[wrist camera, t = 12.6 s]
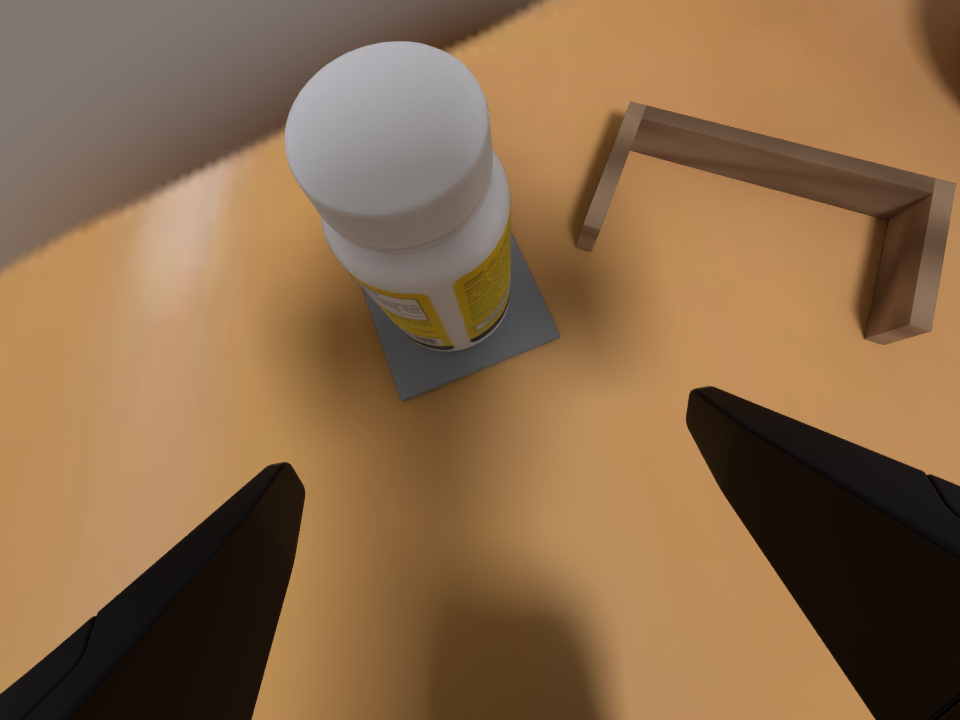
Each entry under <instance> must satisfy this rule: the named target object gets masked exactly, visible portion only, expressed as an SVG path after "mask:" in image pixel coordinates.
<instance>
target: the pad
mask: <svg viewBox="0 0 960 720" xmlns="http://www.w3.org/2000/svg"><path fill="white" fill-rule="evenodd" d="M362 290H363V293H364V295H365V298H366V301H367V304H368V307H369V310H370V313H371V316H372V318H373V321H374V324H375V327H376V330H377V333H378V336H379V339H380V341H381V344H382V347H383V350H384V353H385V356H386V359H387V362H388V364H389V367H390V370H391V373H392V376H393V379H394V382H395V385H396V387H397V390H398V393H399V396H400V399H401V400H402V401H406V400H408V399H411V398H413V397H415V396H418V395H420V394H423V393H425V392H428V391H430V390H433V389H435V388H438V387H440V386H442V385H445V384H447V383H450V382H452V381H455V380H457V379H460V378H462V377H465V376H467V375H469V374H472V373H474V372H477V371H479V370H482V369H484V368H487V367H489V366H492V365H494V364H497V363H499V362H501V361H504V360H506V359H509V358H511V357H514V356H516V355H519V354H521V353H524V352H526V351H528V350H531V349H533V348H536V347H538V346H541V345H543V344H546V343H548V342H551V341H553V340H555V339H558V338H559V337H560V333H559V331H558V329H557V327H556V325H555V323H554V321H553V319H552V316H551V314H550V312H549V310H548V308H547V306H546V304H545V302H544V300H543V298H542V296H541V293H540V291H539V289H538V287H537V285H536V283H535V281H534V279H533V277H532V275H531V273H530V270H529V268H528V266H527V264H526V262H525V260H524V258H523V256H522V254H521V252H520V250H519V247H518V245H517V243H516V241H515V239H514V237H513V235H512V233H511V291H510V301H509V306H508V309H507V312H506V314H505V317H504V318H503V320H502V322H501V323H500V325H499V326H498V328H497V329H496V330H495V331H494V332H493V333H492V334H491V335H490V336H488V337H487V338H486V339H484V340H483V341H481V342H480V343H478V344H476V345H474V346H471V347H469V348H466V349H463V350H458V351H436V350H432V349H428V348H426V347H423V346H421V345H419V344H417V343H415V342H414V341H413V340H411V339H410V338H409V337H407V336H406V335H405V334H404V333H403V332H402V331H401V329H400V328H399V327H398V326H397V325H396V324H395V323H394V322H393V321H392V320H391V318H390V317H389V316H388V315H387V314H386V313H385V312H384V311H383V310H382V309H381V308H380V307H379V305H378V304H377V303H376V302H375V301H374V300H373V299H372V298H371V297H370V296H369V294H368V293H367V292H366V291H365V290H364V289H363V288H362Z"/></svg>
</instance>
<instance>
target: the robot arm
mask: <svg viewBox="0 0 960 720" xmlns="http://www.w3.org/2000/svg"><path fill="white" fill-rule="evenodd" d="M686 423H687V427H688V429H689V431H690V433H691V435H692V437H693V439H694V441H695V442H696V444H697V446H698V448H699V450H700V452H701V454H702V456H703V458H704V460H705V461H706V463H707V465H708V467H709V469H710V471H711V473H712V475H713V477H714V478H715V480H716V482H717V484H718V486H719V487H720V489H721V491H722V492H723V494H724V495H725V497H726V499H727V500H728V502H729V503H730V505H731V506H732V508H733V509H734V510H735V512H736V513H737V515H738V516H739V518H740V519H741V521H742V522H743V524H744V525H745V527H746V528H747V530H748V531H749V533H750V534H751V536H752V537H753V539H754V540H755V542H756V543H757V545H758V546H759V548H760V549H761V551H762V552H763V553H764V555H765V556H766V558H767V559H768V561H769V562H770V564H771V565H772V567H773V568H774V570H775V571H776V573H777V574H778V576H779V577H780V579H781V580H782V582H783V583H784V585H785V586H786V588H787V589H788V591H789V592H790V593H791V595H792V596H793V598H794V599H795V601H796V602H797V604H798V605H799V607H800V608H801V610H802V611H803V613H804V614H805V616H806V617H807V619H808V620H809V622H810V623H811V625H812V626H813V628H814V629H815V631H816V632H817V634H818V635H819V636H820V638H821V639H822V641H823V642H824V644H825V645H826V647H827V648H828V650H829V651H830V653H831V654H832V656H833V657H834V659H835V660H836V662H837V663H838V665H839V666H840V668H841V669H842V671H843V672H844V674H845V675H846V677H847V678H848V679H849V681H850V682H851V684H852V685H853V687H854V688H855V690H856V691H857V693H858V694H859V696H860V697H861V699H862V700H863V702H864V703H865V705H866V706H867V708H868V709H869V711H870V712H871V714H872V715H873V717H874V718H875V720H960V486H958V485H956V484H954V483H951V482H949V481H946V480H944V479H941V478H939V477H936V476H934V475H931V474H929V475H926V474H925V472H923V471H921V470H919V469H916V468H914V467H911V466H909V465H906V464H904V463H901V462H899V461H896V460H894V459H891V458H889V457H886V456H884V455H881V454H879V453H876V452H874V451H872V450H869V449H867V448H864V447H862V446H859V445H857V444H854V443H852V442H849V441H847V440H844V439H842V438H839V437H837V436H834V435H832V434H829V433H827V432H824V431H822V430H819V429H817V428H815V427H812V426H810V425H807V424H805V423H802V422H800V421H797V420H795V419H792V418H790V417H787V416H785V415H782V414H780V413H777V412H775V411H772V410H770V409H767V408H765V407H762V406H760V405H757V404H755V403H753V402H750V401H748V400H745V399H743V398H740V397H738V396H735V395H733V394H730V393H728V392H725V391H723V390H720V389H718V388H715V387H712V386H707V387H701V388H696V389H693V390H692V391H691V392H690V394H689V400H688V407H687V414H686ZM304 500H305V489H304V486H303V484H302V482H301V480H300V479H299V477H298V475H297V474H296V472H295V470H294V469H293V467H292V466H291V464H289V463H287V462H282V463H277V464H271V465H269V466H267V467H266V468H264V469H263V470H262V471H261V472H260V473H259V474H258V475H256V476H255V477H254V478H253V479H252V480H251V481H249V482H248V483H247V484H246V485H245V486H244V487H242V488H241V489H240V490H239V491H238V492H237V493H235V494H234V495H233V496H232V497H231V498H230V499H229V500H227V501H226V502H225V503H224V504H223V505H222V506H220V507H219V508H218V509H217V510H216V511H215V512H213V513H212V514H211V515H210V516H209V517H208V518H207V519H205V520H204V521H203V522H202V523H201V524H200V525H198V526H197V527H196V528H195V529H194V530H193V531H191V532H190V533H189V534H188V535H187V536H186V537H185V538H183V539H182V540H181V541H180V542H179V543H178V544H176V545H175V546H174V547H173V548H172V549H171V550H169V551H168V552H167V553H166V554H165V555H164V556H162V557H161V558H160V559H159V560H158V561H157V562H156V563H154V564H153V565H152V566H151V567H150V568H149V569H147V570H146V571H145V572H144V573H143V574H142V575H140V576H139V577H138V578H137V579H136V580H135V581H134V582H132V583H131V584H130V585H129V586H128V587H127V588H125V589H124V590H123V591H122V592H121V593H120V594H118V595H117V596H116V597H115V598H114V599H113V600H111V601H110V602H109V603H108V604H107V605H106V606H105V607H103V608H102V609H101V610H100V611H99V612H98V613H97V616H93V617H92V618H90V619H89V620H88V621H87V622H86V623H85V624H84V625H82V626H81V627H80V628H79V629H78V630H77V631H76V632H74V633H73V634H72V635H71V636H70V637H69V638H67V639H66V640H65V641H64V642H63V643H61V644H60V645H59V646H58V647H57V648H56V649H54V650H53V651H52V652H51V653H50V654H48V655H47V656H46V657H45V658H44V659H43V660H41V661H40V662H39V663H38V664H37V665H35V666H34V667H33V668H32V669H31V670H30V671H28V672H27V673H26V674H25V675H23V676H22V677H21V678H20V679H18V680H17V681H16V682H15V683H13V684H12V685H11V686H10V687H9V688H7V689H6V690H5V691H4V692H2V693H1V694H0V720H251V719H252V715H253V712H254V708H255V704H256V701H257V697H258V693H259V690H260V686H261V682H262V679H263V675H264V671H265V668H266V664H267V660H268V657H269V653H270V649H271V646H272V642H273V638H274V635H275V631H276V627H277V624H278V620H279V616H280V613H281V609H282V605H283V602H284V598H285V594H286V591H287V587H288V583H289V580H290V576H291V572H292V568H293V564H294V560H295V554H296V549H297V543H298V537H299V531H300V525H301V519H302V513H303V507H304Z"/></svg>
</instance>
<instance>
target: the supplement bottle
mask: <svg viewBox="0 0 960 720" xmlns="http://www.w3.org/2000/svg"><path fill="white" fill-rule="evenodd" d="M285 152H286V156H287V160H288V164H289V167H290V169H291V172H292V173H293V175H294V177H295V179H296V181H297V182H298V184H299V185H300V187H301V188H302V190H303V191H304V192H305V194H306V195H307V197H308V198H309V199H310V201H311V202H312V203H313V205H314V206H315V208H316V209H317V211H318V213H319V214H320V216H321V222H322V226H323V230H324V233H325V237H326V239H327V242H328V244H329V246H330V248H331V250H332V251H333V253H334V255H335V256H336V258H337V259H338V260H339V262H340V263H341V264H342V266H343V267H344V268H345V269H346V270H347V271H348V272H349V274H350V275H351V276H353V278H354V279H355V280H356V281H357V282H358V283H359V284H360V285H361V287H362V288H363V289H364V290H365V291H366V292H367V293H368V294H369V296H370V297H371V298H372V299H373V300H374V301H375V302H376V303H377V304H378V305H379V307H380V308H381V309H382V310H383V311H384V312H385V313H386V314H387V315H388V316H389V317H390V318H391V320H392V321H393V322H394V323H395V324H396V325H397V326H398V327H399V328H400V329H401V331H402V332H403V333H404V334H405V335H406V336H407V337H409V338H410V339H411V340H413V341H414V342H415V343H417V344H419V345H421V346H423V347H426V348H428V349H432V350H436V351H458V350H463V349H466V348H469V347H471V346H474V345H476V344H478V343H480V342H481V341H483V340H484V339H486V338H487V337H488V336H490V335H491V334H492V333H493V332H494V331H495V330H496V329H497V328H498V326H499V325H500V323H501V322H502V320H503V318H504V317H505V314H506V312H507V309H508V306H509V301H510V291H511V198H510V190H509V185H508V180H507V176H506V173H505V170H504V168H503V166H502V164H501V162H500V160H499V158H498V157H497V155H496V153H495V152H494V151H493V149H492V142H491V130H490V120H489V111H488V106H487V101H486V99H485V96H484V93H483V91H482V88H481V86H480V85H479V83H478V81H477V80H476V78H475V77H474V75H473V74H472V73H471V72H470V70H469V69H468V68H467V67H466V66H465V65H464V64H463V63H462V62H461V61H459V60H458V59H456V58H455V57H453V56H452V55H450V54H448V53H446V52H444V51H442V50H440V49H437V48H434V47H431V46H428V45H425V44H421V43H415V42H403V41H402V42H401V41H399V42H384V43H378V44H373V45H368V46H364V47H361V48H359V49H356V50H353V51H351V52H349V53H346V54H344V55H343V56H341V57H338V58H336V59H335V60H334V61H332V62H330V63H329V64H328V65H326V66H324V67H323V68H322V69H321V70H320V71H319V72H318V73H316V74H315V75H314V76H313V77H312V78H311V79H310V80H309V81H308V83H307V84H306V85H305V86H304V88H303V89H302V90H301V92H300V93H299V95H298V97H297V98H296V100H295V102H294V103H293V105H292V108H291V110H290V113H289V116H288V120H287V123H286V129H285Z"/></svg>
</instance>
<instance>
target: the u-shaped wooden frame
mask: <svg viewBox="0 0 960 720" xmlns="http://www.w3.org/2000/svg"><path fill="white" fill-rule="evenodd" d="M630 150H631V151H635V152H639V153H642V154H646V155H650V156H653V157H657V158H661V159H664V160H668V161H672V162H675V163H679V164H683V165H687V166H690V167H694V168H698V169H701V170H705V171H709V172H712V173H716V174H720V175H723V176H727V177H731V178H734V179H738V180H742V181H746V182H749V183H753V184H757V185H760V186H764V187H768V188H771V189H775V190H779V191H782V192H786V193H790V194H793V195H797V196H801V197H805V198H808V199H812V200H816V201H819V202H823V203H827V204H830V205H834V206H838V207H841V208H845V209H849V210H852V211H856V212H860V213H864V214H867V215H871V216H875V217H878V218H882V219H886V220H889V222H888V227H887V232H886V236H885V241H884V246H883V251H882V256H881V261H880V266H879V271H878V276H877V281H876V286H875V291H874V296H873V300H872V305H871V310H870V315H869V320H868V325H867V330H866V335H865V339H867V340H870V341H873V342H876V343H879V344H883V345H885V344H889V343H892V342H896V341H899V340H903V339H906V338H910V337H913V336H917V335H920V334H924V333H927V332H931V331H932V325H933V319H934V313H935V307H936V301H937V295H938V289H939V283H940V277H941V271H942V265H943V259H944V253H945V247H946V241H947V235H948V229H949V223H950V217H951V211H952V205H953V199H954V193H955V187H956V183H952V182H948V181H945V180H941V179H937V178H933V177H929V176H925V175H921V174H917V173H913V172H909V171H905V170H901V169H897V168H893V167H889V166H885V165H881V164H877V163H873V162H869V161H865V160H861V159H857V158H853V157H849V156H845V155H841V154H837V153H833V152H829V151H825V150H821V149H817V148H813V147H809V146H805V145H801V144H798V143H794V142H790V141H786V140H782V139H778V138H774V137H770V136H766V135H762V134H758V133H754V132H750V131H746V130H742V129H738V128H734V127H730V126H726V125H722V124H718V123H714V122H710V121H706V120H702V119H698V118H694V117H690V116H686V115H682V114H678V113H674V112H670V111H666V110H662V109H658V108H654V107H651V106H647V105H643V104H639V103H635V102H631V101H630V104H629V106H628V109H627V111H626V114H625V117H624V119H623V122H622V125H621V127H620V130H619V132H618V135H617V138H616V140H615V143H614V145H613V148H612V151H611V153H610V156H609V158H608V161H607V164H606V166H605V169H604V171H603V174H602V177H601V179H600V182H599V184H598V187H597V190H596V192H595V195H594V198H593V200H592V203H591V205H590V208H589V211H588V213H587V216H586V218H585V221H584V224H583V226H582V229H581V233H580V236H579V239H578V242H577V245H576V248H579V249H583V250H586V251H589V252H591V251H592V248H593V246H594V244H595V241H596V239H597V236H598V234H599V231H600V229H601V226H602V224H603V221H604V218H605V216H606V213H607V210H608V207H609V205H610V202H611V199H612V197H613V194H614V191H615V189H616V186H617V183H618V181H619V178H620V175H621V173H622V170H623V167H624V165H625V162H626V159H627V156H628V154H629V151H630Z"/></svg>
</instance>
